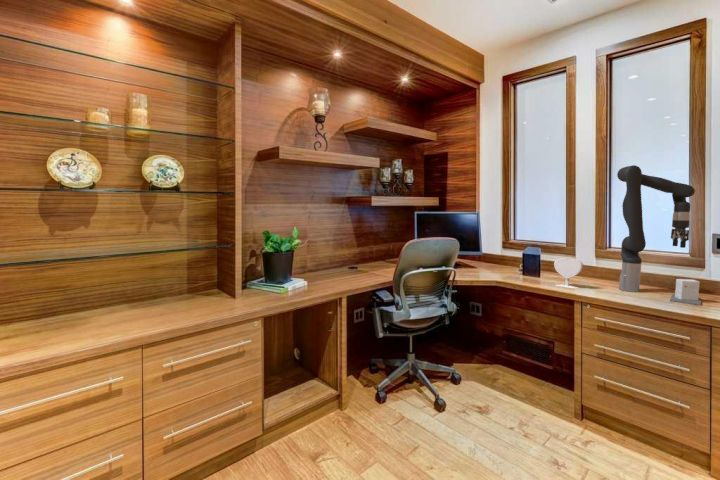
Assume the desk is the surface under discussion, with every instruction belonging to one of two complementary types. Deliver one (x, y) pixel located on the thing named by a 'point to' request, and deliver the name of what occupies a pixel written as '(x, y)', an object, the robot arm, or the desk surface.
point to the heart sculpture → (568, 269)
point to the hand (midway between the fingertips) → (678, 246)
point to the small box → (687, 289)
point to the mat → (694, 302)
